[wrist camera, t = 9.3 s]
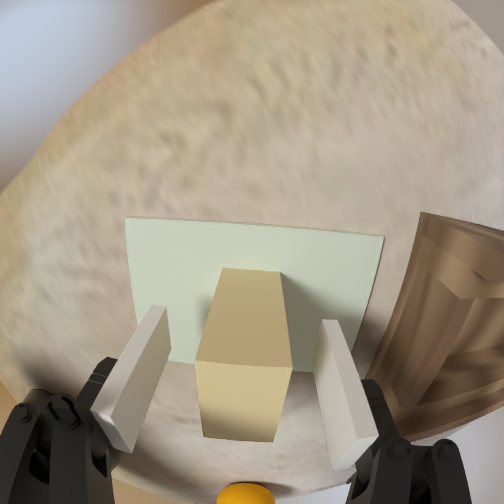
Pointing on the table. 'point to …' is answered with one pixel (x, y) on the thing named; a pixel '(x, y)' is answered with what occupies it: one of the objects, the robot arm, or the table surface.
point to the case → (445, 330)
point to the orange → (245, 494)
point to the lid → (248, 306)
